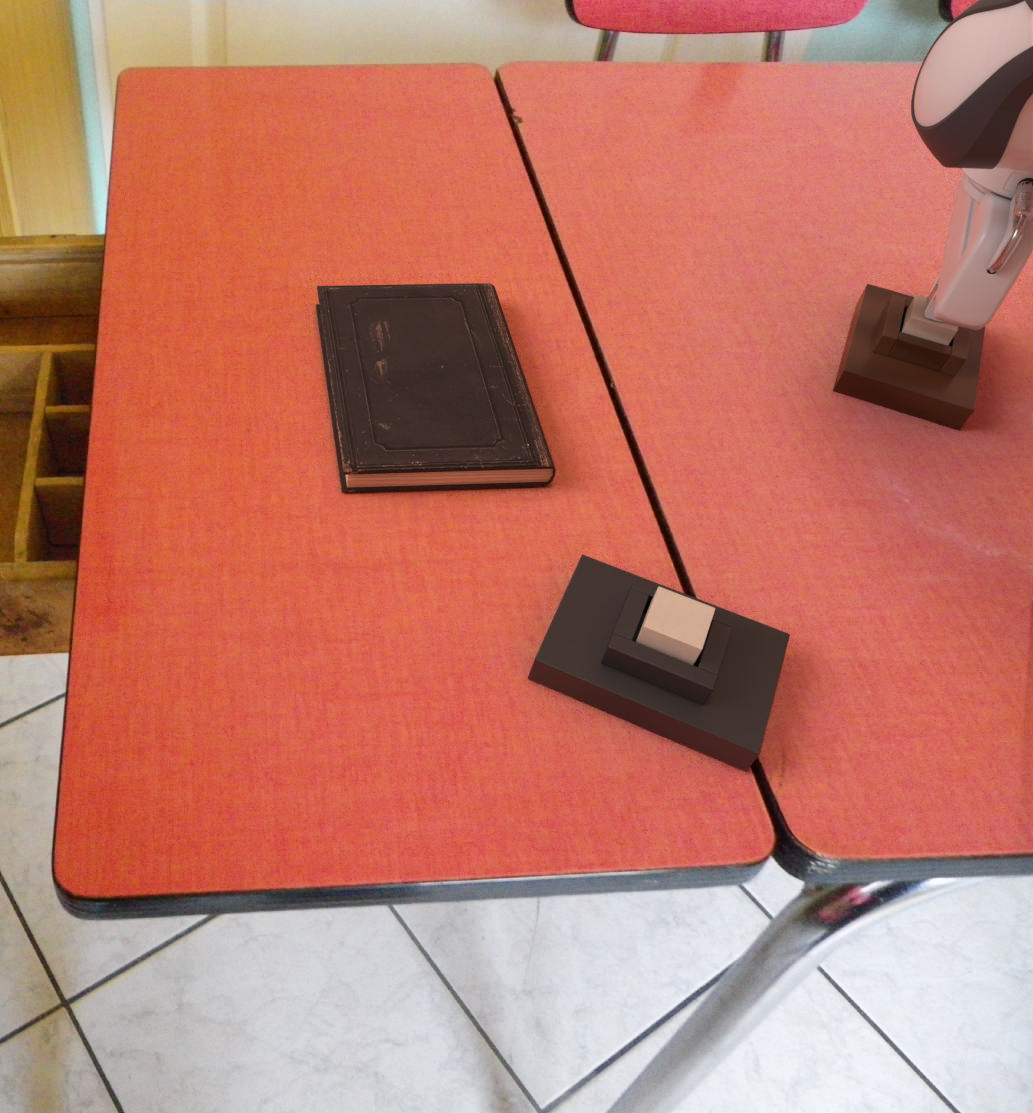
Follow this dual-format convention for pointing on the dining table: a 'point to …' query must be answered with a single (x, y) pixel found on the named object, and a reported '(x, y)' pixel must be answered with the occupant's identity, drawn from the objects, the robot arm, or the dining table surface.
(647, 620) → the near key
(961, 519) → the dining table surface
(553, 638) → the near block
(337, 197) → the dining table surface
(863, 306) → the far block
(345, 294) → the hardcover book
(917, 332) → the far key
